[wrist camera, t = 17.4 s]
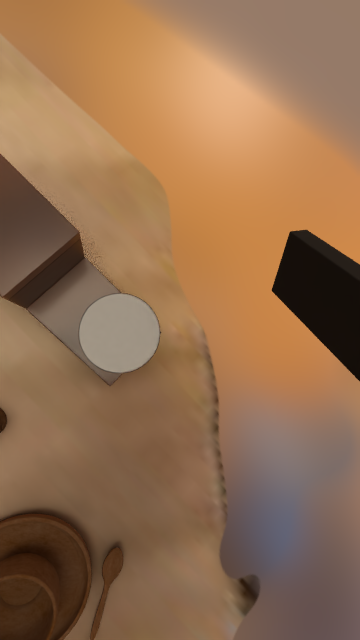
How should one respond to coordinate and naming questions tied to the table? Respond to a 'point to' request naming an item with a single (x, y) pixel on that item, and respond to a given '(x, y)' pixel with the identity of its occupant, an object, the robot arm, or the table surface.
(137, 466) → the table surface
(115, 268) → the table surface
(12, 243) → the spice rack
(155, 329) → the spice jar
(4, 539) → the place setting
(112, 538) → the table surface
